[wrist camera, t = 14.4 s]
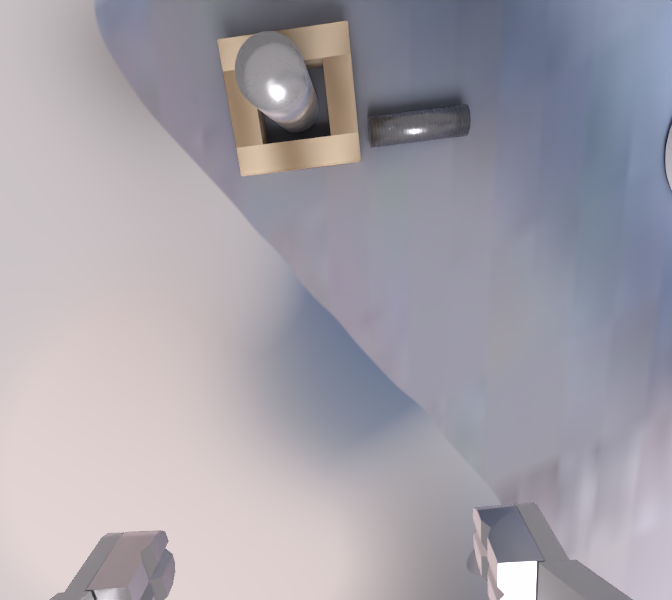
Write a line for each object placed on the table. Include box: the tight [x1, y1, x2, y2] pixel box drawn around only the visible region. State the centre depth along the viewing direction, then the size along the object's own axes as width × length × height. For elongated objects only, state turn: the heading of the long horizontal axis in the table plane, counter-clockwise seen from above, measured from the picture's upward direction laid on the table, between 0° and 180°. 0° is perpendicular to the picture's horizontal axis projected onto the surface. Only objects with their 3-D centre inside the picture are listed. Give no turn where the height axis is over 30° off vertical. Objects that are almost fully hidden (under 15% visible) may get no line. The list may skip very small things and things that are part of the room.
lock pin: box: [368, 104, 470, 148], centre depth 33 cm, size 8×2×2 cm, turn 97°
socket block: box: [217, 21, 361, 176], centre depth 33 cm, size 10×10×2 cm
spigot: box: [235, 31, 319, 132], centre depth 28 cm, size 4×4×12 cm
